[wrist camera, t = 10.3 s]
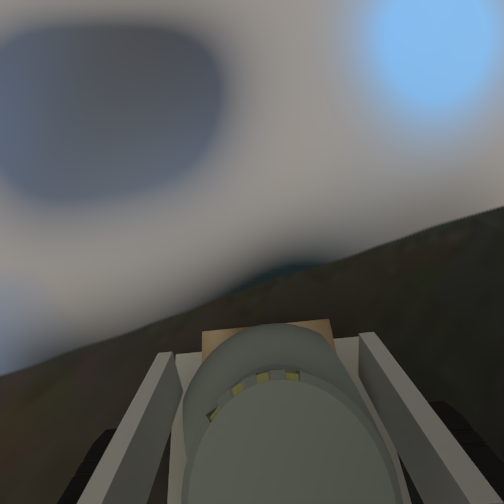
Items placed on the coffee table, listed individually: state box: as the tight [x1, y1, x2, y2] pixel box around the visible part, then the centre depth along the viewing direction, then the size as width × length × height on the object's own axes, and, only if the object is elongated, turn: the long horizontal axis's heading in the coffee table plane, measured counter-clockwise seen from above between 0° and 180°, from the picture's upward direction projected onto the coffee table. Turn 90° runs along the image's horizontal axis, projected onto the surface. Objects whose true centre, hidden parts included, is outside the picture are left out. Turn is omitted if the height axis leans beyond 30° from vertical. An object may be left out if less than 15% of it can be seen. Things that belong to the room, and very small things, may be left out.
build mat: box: [167, 337, 412, 504], centre depth 20 cm, size 18×14×1 cm
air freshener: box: [181, 323, 403, 504], centre depth 11 cm, size 11×8×10 cm
